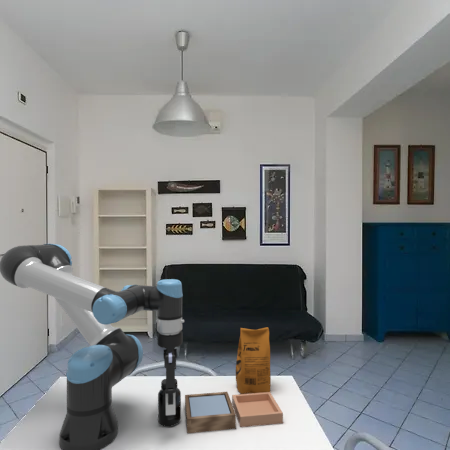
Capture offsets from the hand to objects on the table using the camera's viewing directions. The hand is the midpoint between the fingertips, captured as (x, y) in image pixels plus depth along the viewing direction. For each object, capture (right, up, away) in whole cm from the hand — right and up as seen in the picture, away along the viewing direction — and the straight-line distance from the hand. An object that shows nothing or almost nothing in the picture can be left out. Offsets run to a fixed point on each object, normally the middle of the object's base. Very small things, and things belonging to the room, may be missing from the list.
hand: (170, 402), depth 101 cm
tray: (+26, -6, +5) cm, 27 cm away
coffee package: (+27, -6, +21) cm, 34 cm away
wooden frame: (+11, -6, +2) cm, 13 cm away
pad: (+11, -3, +2) cm, 12 cm away
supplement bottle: (0, -6, 0) cm, 6 cm away
